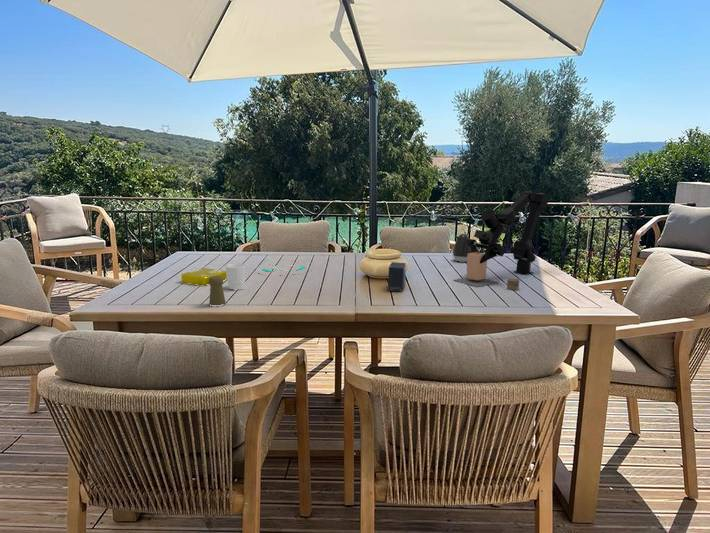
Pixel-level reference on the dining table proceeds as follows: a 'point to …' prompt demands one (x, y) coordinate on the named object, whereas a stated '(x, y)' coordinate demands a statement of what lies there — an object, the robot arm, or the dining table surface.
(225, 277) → the element tile
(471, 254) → the tan rectangular block
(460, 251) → the dark grey rounded vessel
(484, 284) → the rubber mat
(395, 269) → the small box
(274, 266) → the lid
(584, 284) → the dining table surface
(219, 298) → the cork
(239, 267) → the white cup
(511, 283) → the stub post
